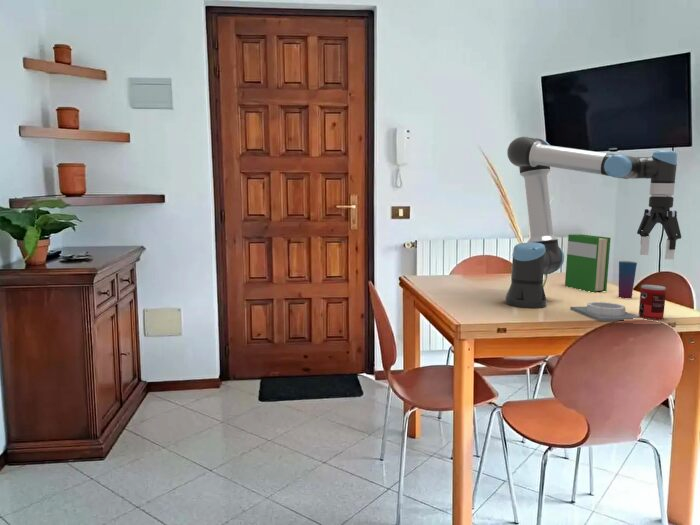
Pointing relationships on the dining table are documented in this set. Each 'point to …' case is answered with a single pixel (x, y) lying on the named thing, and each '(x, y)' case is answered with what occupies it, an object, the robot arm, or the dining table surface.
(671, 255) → the robot arm
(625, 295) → the cup
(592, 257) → the hardback book
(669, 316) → the dining table surface
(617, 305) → the holder
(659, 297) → the canned food
